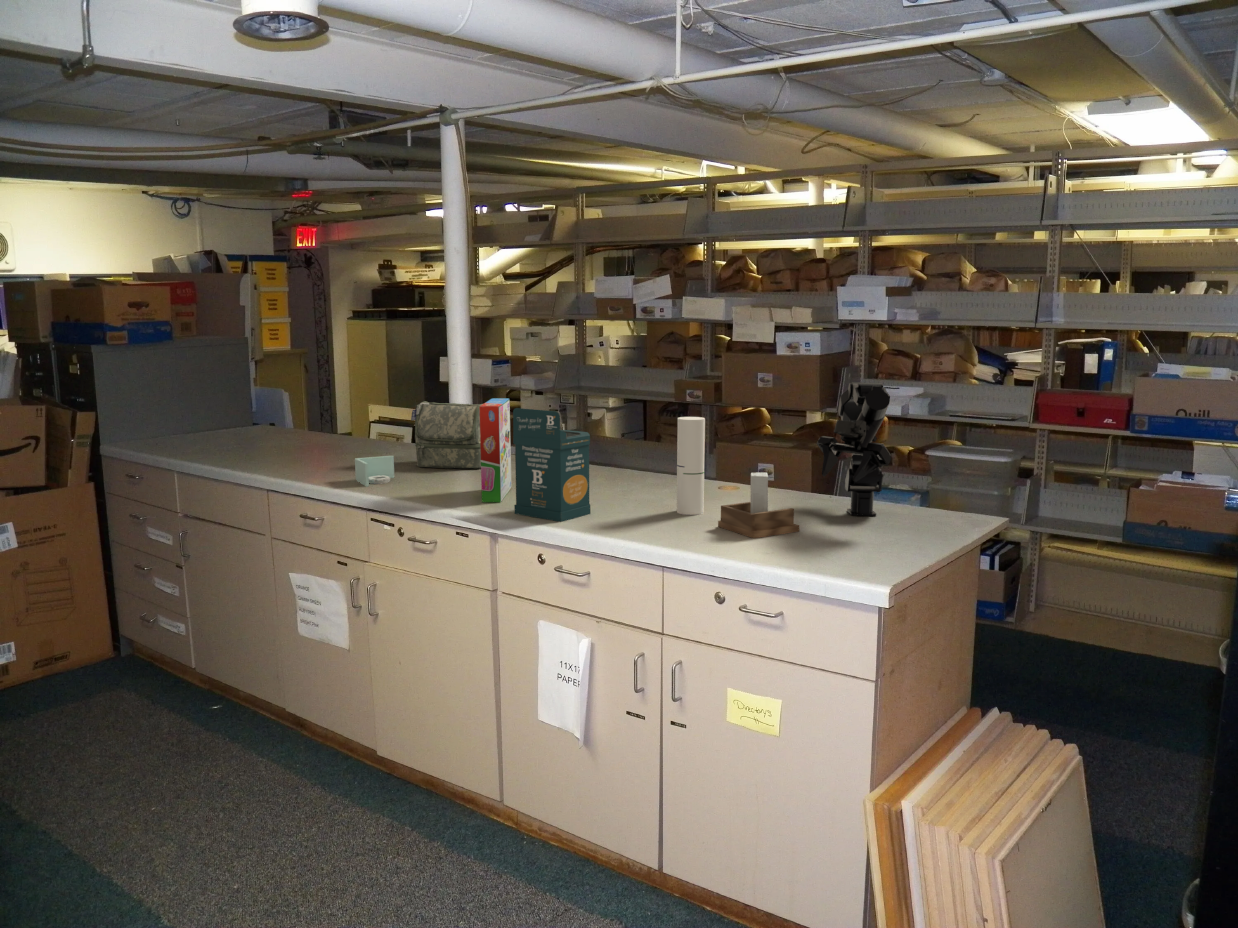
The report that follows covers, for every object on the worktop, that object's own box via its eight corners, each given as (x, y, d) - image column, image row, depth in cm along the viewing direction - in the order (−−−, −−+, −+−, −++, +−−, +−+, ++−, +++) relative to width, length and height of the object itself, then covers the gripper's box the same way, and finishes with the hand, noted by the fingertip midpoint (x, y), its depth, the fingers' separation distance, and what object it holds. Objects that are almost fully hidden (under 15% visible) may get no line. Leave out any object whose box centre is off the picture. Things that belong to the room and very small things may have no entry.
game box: (493, 488, 282) (491, 398, 278) (511, 488, 282) (510, 398, 278) (481, 502, 262) (479, 405, 257) (501, 502, 262) (499, 405, 257)
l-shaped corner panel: (366, 488, 286) (364, 463, 284) (355, 482, 296) (354, 458, 295) (404, 484, 291) (403, 460, 290) (393, 478, 302) (392, 455, 301)
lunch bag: (407, 468, 319) (404, 403, 315) (430, 459, 336) (428, 398, 332) (479, 471, 313) (478, 405, 309) (499, 462, 330) (497, 400, 327)
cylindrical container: (688, 508, 255) (690, 416, 251) (709, 512, 250) (710, 418, 246) (671, 511, 250) (671, 418, 246) (691, 516, 245) (692, 420, 241)
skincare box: (768, 525, 227) (769, 476, 225) (749, 525, 228) (750, 476, 226) (767, 520, 233) (769, 472, 231) (749, 519, 234) (750, 471, 232)
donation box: (514, 513, 248) (512, 407, 243) (554, 503, 261) (553, 402, 256) (561, 522, 238) (560, 411, 234) (600, 511, 251) (600, 406, 246)
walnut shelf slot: (762, 520, 240) (763, 499, 239) (799, 531, 228) (800, 509, 227) (718, 526, 233) (718, 504, 232) (753, 538, 221) (754, 515, 220)
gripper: (821, 404, 237) (793, 454, 232) (885, 410, 223) (856, 463, 218) (840, 431, 244) (813, 479, 239) (903, 438, 230) (876, 490, 225)
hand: (838, 478), depth 230 cm, fingers open, 9 cm apart
